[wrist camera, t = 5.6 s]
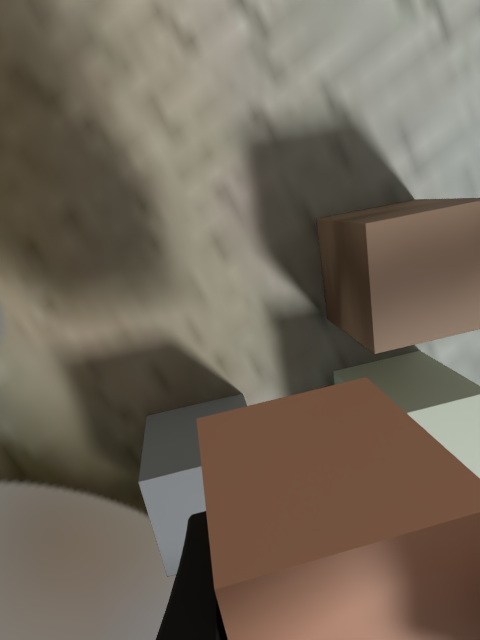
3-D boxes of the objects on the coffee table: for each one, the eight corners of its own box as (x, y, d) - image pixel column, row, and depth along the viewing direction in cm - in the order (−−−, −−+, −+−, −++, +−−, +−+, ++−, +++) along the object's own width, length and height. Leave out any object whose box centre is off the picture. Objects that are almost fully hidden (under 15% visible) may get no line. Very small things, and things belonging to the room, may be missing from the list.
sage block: (421, 427, 23) (486, 486, 18) (341, 448, 22) (386, 514, 17) (418, 350, 21) (489, 392, 16) (332, 370, 21) (379, 419, 16)
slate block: (256, 470, 22) (280, 545, 17) (168, 493, 21) (167, 576, 16) (242, 392, 20) (263, 450, 15) (146, 415, 20) (138, 481, 15)
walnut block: (417, 297, 20) (491, 326, 15) (326, 318, 20) (374, 353, 15) (413, 199, 19) (495, 197, 14) (315, 218, 18) (365, 223, 13)
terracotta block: (377, 512, 13) (497, 694, 8) (229, 554, 12) (264, 775, 7) (366, 377, 11) (508, 503, 6) (196, 418, 11) (213, 589, 6)
